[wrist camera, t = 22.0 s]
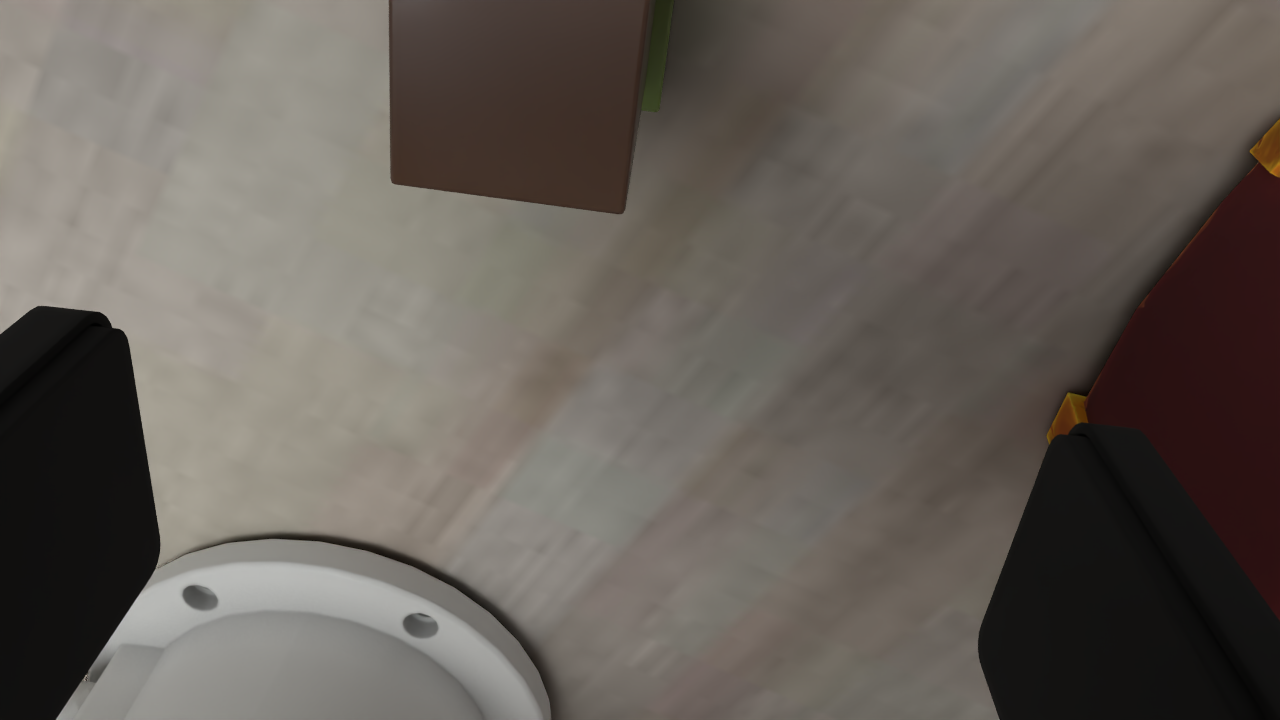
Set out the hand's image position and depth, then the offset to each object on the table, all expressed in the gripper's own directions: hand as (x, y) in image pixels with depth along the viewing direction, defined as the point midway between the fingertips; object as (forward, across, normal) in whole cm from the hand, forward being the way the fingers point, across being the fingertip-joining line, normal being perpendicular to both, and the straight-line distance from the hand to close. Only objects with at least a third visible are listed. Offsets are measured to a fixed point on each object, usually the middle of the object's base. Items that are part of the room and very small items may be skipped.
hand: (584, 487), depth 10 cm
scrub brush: (+11, +1, -3) cm, 11 cm away
